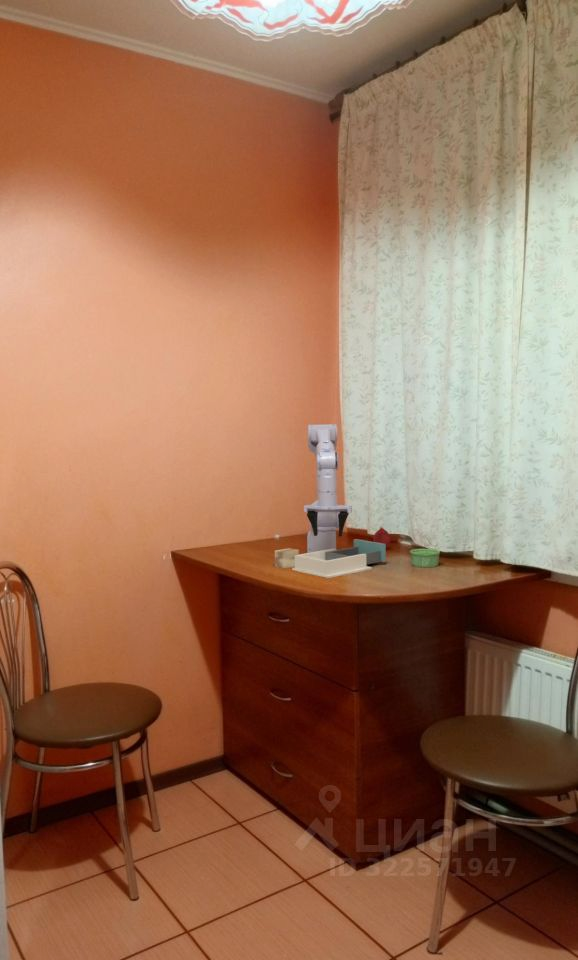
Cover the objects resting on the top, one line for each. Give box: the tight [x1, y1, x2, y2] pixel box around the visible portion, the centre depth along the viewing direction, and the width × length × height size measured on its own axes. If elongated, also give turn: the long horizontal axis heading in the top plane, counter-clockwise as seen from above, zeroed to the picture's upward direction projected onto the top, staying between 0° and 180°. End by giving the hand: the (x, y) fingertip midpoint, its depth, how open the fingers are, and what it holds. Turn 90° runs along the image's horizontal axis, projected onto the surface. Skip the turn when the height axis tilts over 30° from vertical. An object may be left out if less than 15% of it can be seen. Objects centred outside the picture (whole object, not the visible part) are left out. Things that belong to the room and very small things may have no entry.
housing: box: [291, 548, 373, 579], centre depth 225 cm, size 18×16×5 cm
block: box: [274, 547, 300, 569], centre depth 232 cm, size 4×6×5 cm
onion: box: [372, 526, 391, 548], centre depth 257 cm, size 6×6×8 cm
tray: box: [325, 538, 387, 565], centre depth 231 cm, size 14×13×6 cm
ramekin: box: [409, 548, 441, 568], centre depth 230 cm, size 9×9×4 cm
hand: (328, 535), depth 229 cm, fingers open, 7 cm apart
